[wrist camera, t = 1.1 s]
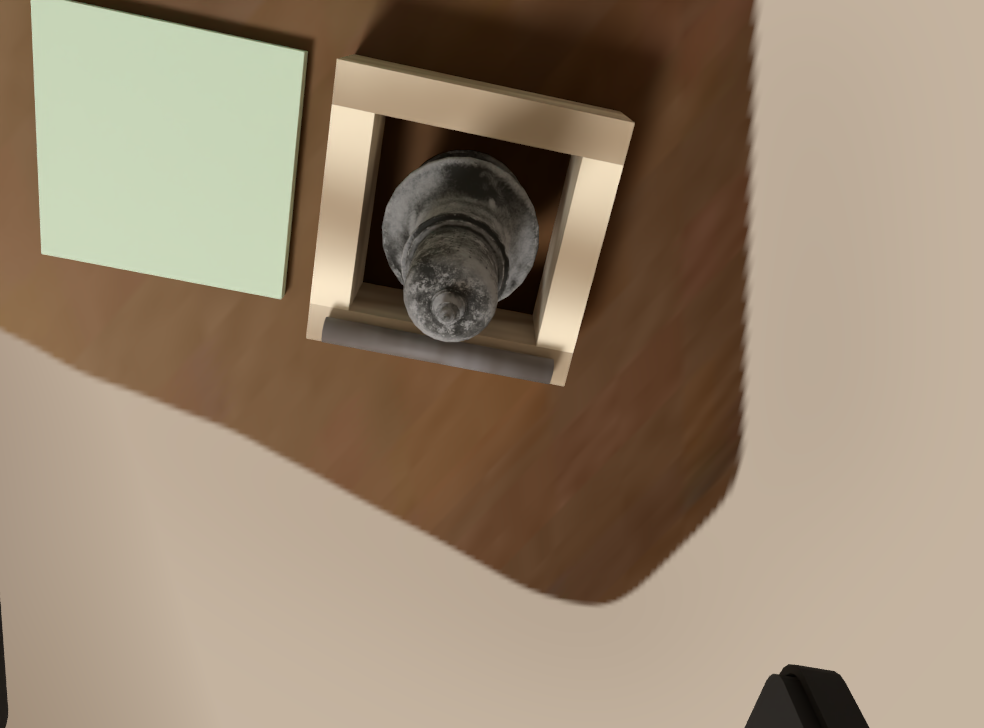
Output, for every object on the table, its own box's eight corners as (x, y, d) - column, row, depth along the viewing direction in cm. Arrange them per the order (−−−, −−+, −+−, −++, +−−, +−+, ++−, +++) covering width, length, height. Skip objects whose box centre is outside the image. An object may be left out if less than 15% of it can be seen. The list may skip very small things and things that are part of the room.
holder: (354, 54, 29) (331, 60, 25) (620, 111, 30) (639, 126, 26) (324, 307, 34) (300, 348, 29) (557, 351, 34) (565, 397, 30)
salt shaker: (428, 301, 33) (395, 440, 23) (369, 175, 31) (300, 262, 20) (555, 252, 33) (584, 372, 22) (503, 118, 30) (506, 176, 19)
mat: (39, -7, 29) (30, -7, 28) (308, 51, 29) (304, 52, 29) (49, 249, 33) (41, 253, 32) (284, 294, 33) (281, 299, 33)
